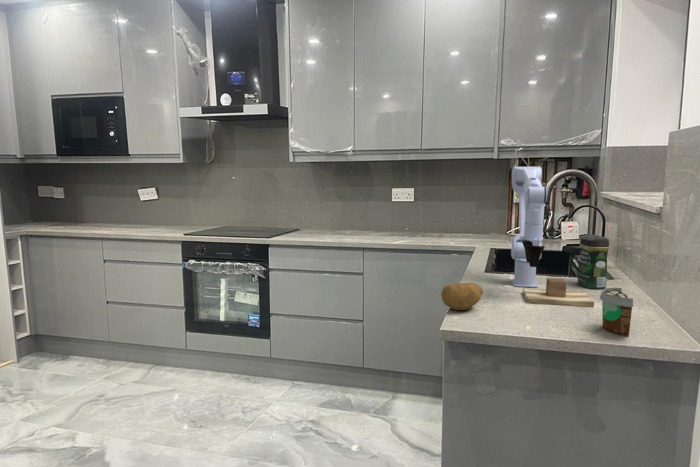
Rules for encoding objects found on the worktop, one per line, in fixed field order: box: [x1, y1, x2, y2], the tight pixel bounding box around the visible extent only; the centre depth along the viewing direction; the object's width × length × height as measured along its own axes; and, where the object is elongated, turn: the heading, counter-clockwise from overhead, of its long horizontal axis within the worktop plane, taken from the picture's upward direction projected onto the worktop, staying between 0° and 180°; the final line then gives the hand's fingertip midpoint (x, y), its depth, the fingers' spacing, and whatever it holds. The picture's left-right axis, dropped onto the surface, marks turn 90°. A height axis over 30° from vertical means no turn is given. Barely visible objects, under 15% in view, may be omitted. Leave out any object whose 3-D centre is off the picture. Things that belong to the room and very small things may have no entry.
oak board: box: [522, 287, 595, 308], centre depth 154 cm, size 13×19×2 cm
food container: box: [599, 287, 634, 337], centre depth 125 cm, size 12×6×10 cm, turn 163°
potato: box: [440, 282, 483, 311], centre depth 143 cm, size 10×14×8 cm
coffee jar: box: [577, 233, 610, 290], centre depth 170 cm, size 10×8×19 cm
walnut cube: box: [545, 277, 568, 297], centre depth 153 cm, size 5×5×5 cm
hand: (531, 264), depth 157 cm, fingers open, 7 cm apart
